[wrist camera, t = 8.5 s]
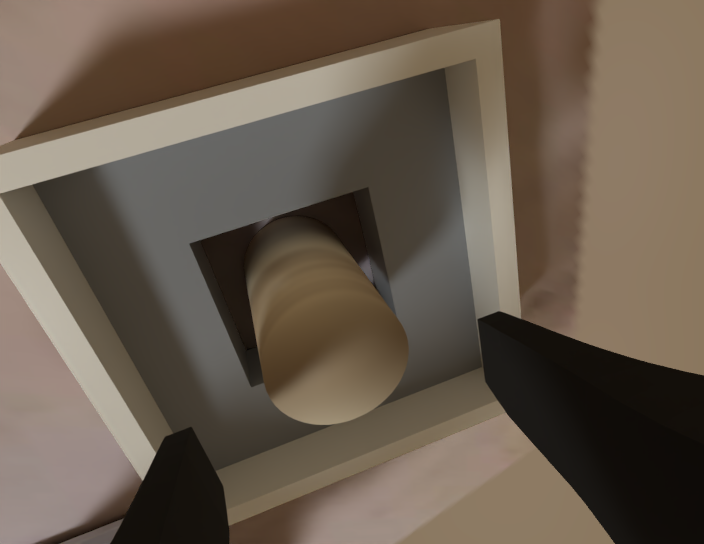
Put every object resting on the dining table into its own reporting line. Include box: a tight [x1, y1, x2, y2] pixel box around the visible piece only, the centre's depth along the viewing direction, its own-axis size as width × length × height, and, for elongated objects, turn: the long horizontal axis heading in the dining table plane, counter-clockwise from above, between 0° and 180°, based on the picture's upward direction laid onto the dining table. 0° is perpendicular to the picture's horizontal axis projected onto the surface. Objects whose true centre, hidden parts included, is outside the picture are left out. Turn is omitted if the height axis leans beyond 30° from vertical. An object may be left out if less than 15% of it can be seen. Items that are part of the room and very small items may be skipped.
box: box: [0, 19, 521, 526], centre depth 17 cm, size 14×14×4 cm
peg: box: [244, 216, 409, 425], centre depth 16 cm, size 4×4×7 cm
